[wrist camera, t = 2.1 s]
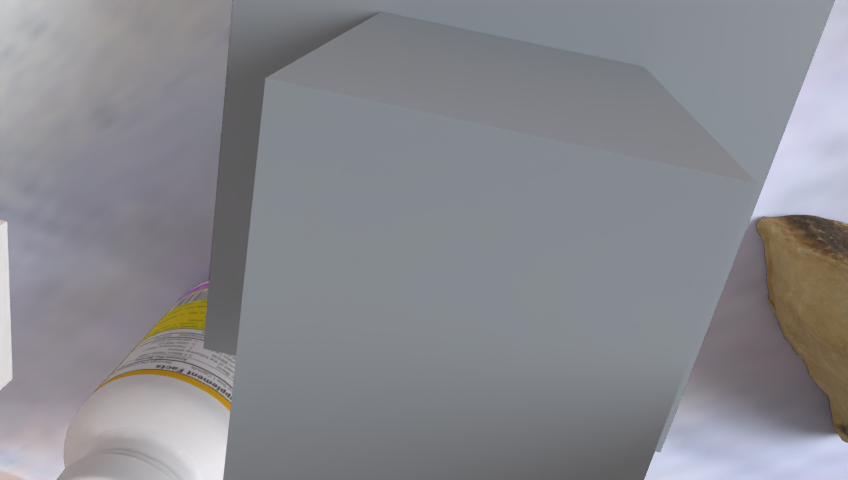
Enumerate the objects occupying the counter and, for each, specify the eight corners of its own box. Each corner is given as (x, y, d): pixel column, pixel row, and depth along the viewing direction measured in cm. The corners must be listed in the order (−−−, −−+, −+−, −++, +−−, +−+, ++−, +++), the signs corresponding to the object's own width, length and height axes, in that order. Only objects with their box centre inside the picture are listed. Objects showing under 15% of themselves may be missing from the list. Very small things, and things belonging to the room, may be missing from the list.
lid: (832, -45, 19) (1197, -21, 9) (653, 429, 25) (750, 775, 15) (262, -161, 20) (-17, -267, 9) (216, 330, 26) (14, 598, 15)
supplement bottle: (272, 420, 37) (155, 652, 25) (152, 348, 36) (-27, 552, 24) (341, 322, 34) (249, 528, 22) (215, 242, 33) (49, 412, 22)
